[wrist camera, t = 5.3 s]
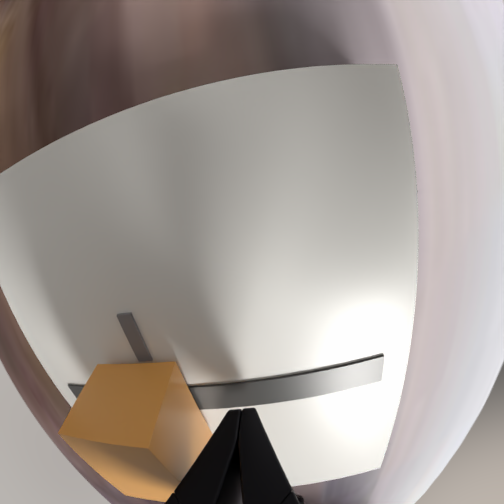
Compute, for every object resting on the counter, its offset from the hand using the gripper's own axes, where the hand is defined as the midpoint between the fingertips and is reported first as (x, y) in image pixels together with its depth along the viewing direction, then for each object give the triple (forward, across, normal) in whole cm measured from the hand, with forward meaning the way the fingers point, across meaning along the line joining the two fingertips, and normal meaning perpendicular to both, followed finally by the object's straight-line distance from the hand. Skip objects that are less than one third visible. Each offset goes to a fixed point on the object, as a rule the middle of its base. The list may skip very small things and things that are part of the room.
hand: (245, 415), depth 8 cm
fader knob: (+1, +3, 0) cm, 3 cm away
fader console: (+4, +1, 0) cm, 4 cm away
